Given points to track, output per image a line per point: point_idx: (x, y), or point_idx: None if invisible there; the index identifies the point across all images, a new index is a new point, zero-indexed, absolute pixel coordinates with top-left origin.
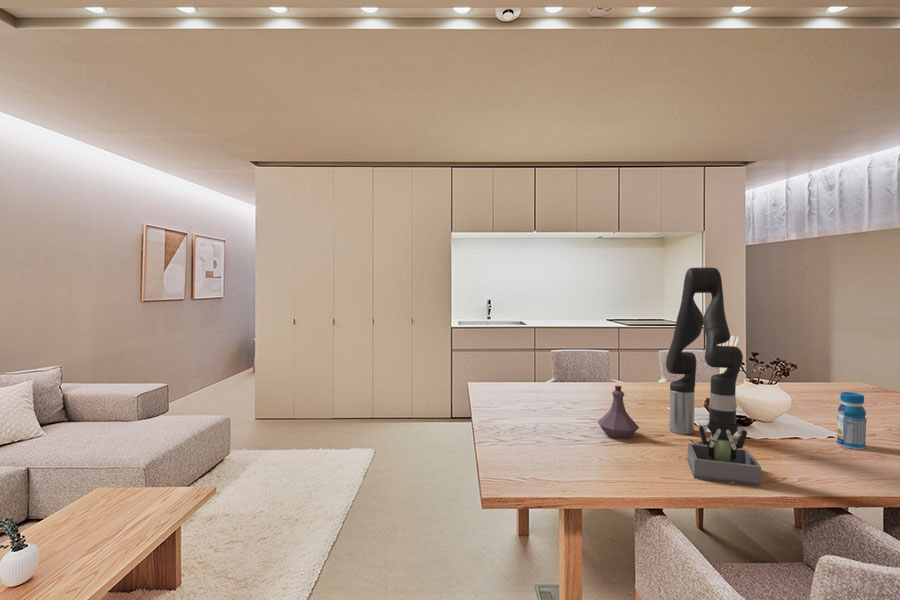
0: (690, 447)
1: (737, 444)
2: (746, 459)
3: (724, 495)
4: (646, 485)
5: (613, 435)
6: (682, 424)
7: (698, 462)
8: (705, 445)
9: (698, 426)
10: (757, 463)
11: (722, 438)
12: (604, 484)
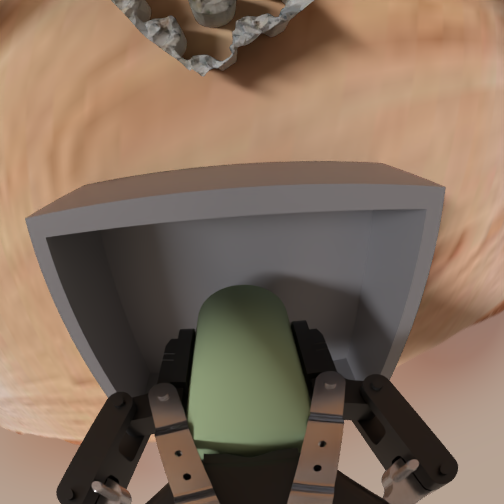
0: (59, 302)
1: (354, 416)
2: (393, 236)
3: None
4: (74, 413)
5: None
6: None
7: None
8: (130, 206)
9: (60, 493)
10: None
11: (256, 451)
12: (31, 410)
